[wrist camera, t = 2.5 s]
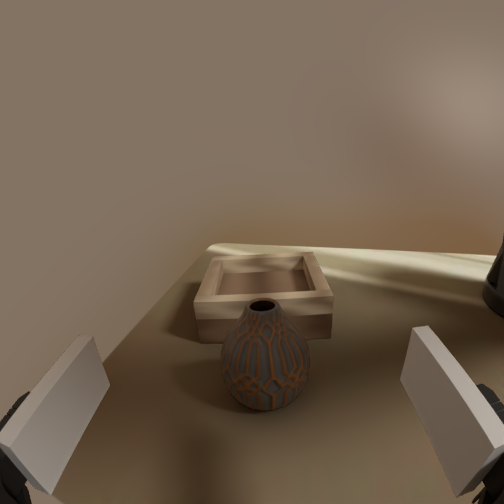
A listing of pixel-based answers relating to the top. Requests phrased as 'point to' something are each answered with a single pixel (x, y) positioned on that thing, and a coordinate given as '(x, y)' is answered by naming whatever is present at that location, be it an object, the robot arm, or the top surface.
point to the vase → (265, 357)
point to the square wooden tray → (263, 293)
